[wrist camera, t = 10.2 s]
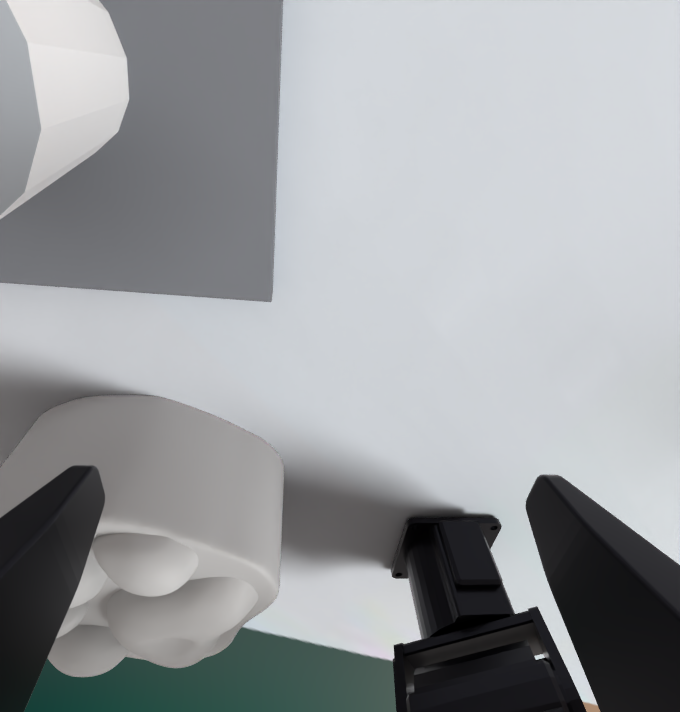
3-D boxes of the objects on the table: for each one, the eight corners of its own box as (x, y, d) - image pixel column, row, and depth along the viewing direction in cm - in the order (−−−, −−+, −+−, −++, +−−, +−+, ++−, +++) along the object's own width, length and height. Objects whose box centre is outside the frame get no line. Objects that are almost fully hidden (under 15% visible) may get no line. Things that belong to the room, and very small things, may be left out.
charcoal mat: (272, 291, 19) (271, 301, 18) (-114, 263, 17) (-136, 272, 16) (292, -262, 11) (291, -291, 10) (-451, -442, 9) (-531, -498, 8)
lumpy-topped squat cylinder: (224, 547, 29) (198, 707, 21) (10, 486, 24) (-116, 662, 17) (304, 451, 24) (306, 610, 17) (62, 352, 20) (-77, 513, 12)
